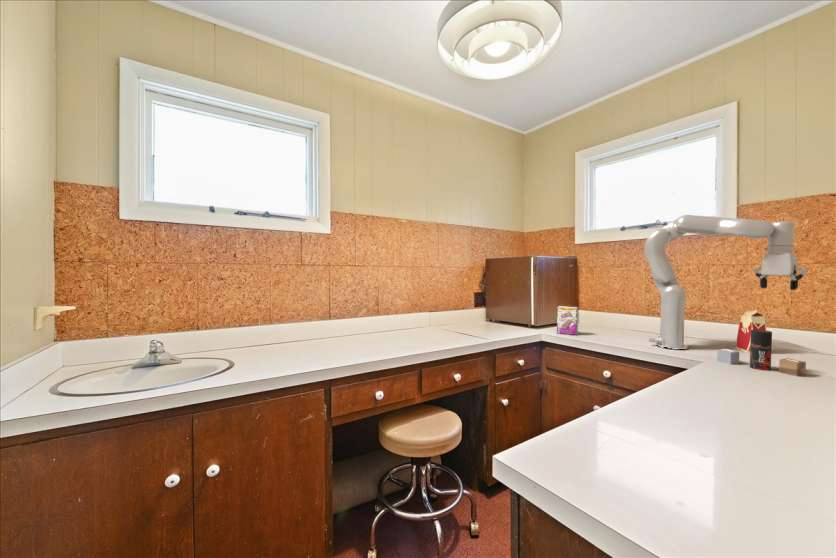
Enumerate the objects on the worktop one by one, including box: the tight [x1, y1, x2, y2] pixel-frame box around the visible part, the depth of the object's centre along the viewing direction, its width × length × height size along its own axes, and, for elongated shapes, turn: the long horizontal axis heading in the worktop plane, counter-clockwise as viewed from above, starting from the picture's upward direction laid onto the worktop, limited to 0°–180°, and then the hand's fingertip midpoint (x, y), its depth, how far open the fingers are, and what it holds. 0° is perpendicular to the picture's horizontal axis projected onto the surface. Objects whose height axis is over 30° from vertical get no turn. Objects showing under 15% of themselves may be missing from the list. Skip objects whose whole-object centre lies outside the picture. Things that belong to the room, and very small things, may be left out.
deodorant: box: [749, 330, 773, 372], centre depth 135 cm, size 6×6×15 cm
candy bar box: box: [556, 305, 579, 336], centre depth 203 cm, size 11×5×16 cm, turn 58°
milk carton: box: [735, 309, 768, 353], centre depth 161 cm, size 9×9×20 cm
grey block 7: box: [716, 348, 740, 365], centre depth 143 cm, size 5×5×5 cm
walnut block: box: [778, 357, 807, 377], centre depth 128 cm, size 5×5×5 cm
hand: (778, 288), depth 149 cm, fingers open, 9 cm apart
